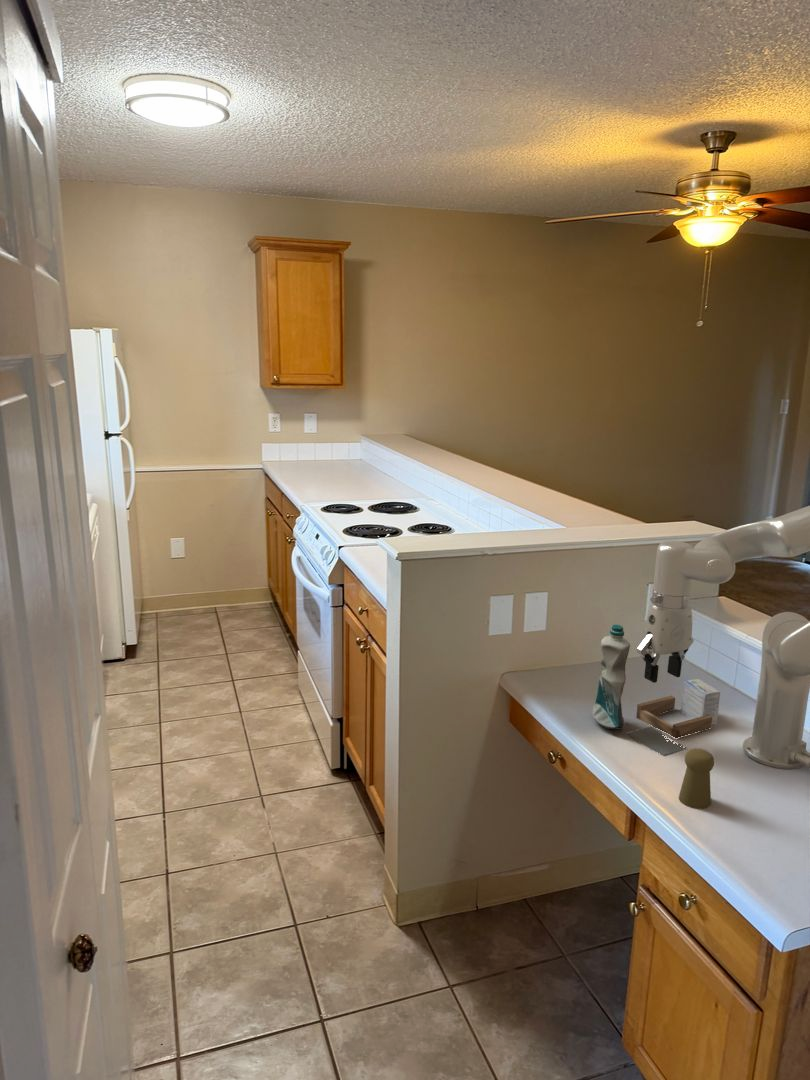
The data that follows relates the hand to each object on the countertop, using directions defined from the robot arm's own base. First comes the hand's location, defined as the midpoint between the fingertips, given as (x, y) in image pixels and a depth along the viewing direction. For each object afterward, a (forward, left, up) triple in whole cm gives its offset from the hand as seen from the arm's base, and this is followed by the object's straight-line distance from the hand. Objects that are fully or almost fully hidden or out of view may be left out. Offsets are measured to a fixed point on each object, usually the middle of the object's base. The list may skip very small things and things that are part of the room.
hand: (662, 676), depth 165 cm
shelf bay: (+5, -12, -16) cm, 21 cm away
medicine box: (+4, -18, -16) cm, 24 cm away
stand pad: (0, 0, -16) cm, 16 cm away
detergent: (+11, +4, -16) cm, 20 cm away
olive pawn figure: (-21, +11, -16) cm, 29 cm away
